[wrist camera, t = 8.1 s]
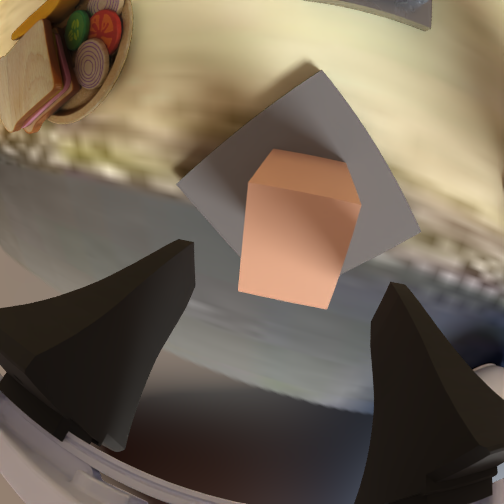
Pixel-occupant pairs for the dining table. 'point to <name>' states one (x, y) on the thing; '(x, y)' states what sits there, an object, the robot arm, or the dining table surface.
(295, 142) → the mat
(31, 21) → the toy sandwich meal
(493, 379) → the lidded jar
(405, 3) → the vise
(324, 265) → the block
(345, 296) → the dining table surface
